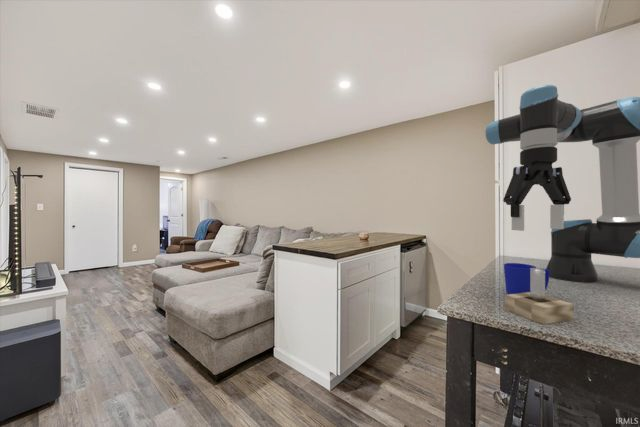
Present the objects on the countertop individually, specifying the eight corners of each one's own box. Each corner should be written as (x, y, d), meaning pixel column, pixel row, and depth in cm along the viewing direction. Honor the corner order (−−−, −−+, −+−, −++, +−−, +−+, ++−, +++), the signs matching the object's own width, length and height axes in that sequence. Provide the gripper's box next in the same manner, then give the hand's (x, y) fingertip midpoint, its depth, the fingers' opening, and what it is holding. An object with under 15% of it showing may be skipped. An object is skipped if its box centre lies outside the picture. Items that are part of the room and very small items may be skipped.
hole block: (532, 305, 75) (532, 291, 75) (573, 319, 66) (573, 303, 66) (504, 309, 73) (504, 294, 73) (543, 324, 63) (543, 307, 63)
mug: (557, 303, 77) (557, 269, 77) (511, 300, 80) (511, 268, 79) (540, 294, 85) (540, 263, 85) (498, 292, 88) (499, 262, 88)
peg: (535, 311, 71) (536, 267, 71) (547, 315, 68) (548, 270, 68) (527, 312, 70) (527, 268, 70) (539, 317, 68) (539, 270, 67)
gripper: (557, 153, 75) (556, 227, 76) (487, 149, 69) (487, 229, 70) (589, 147, 68) (589, 229, 69) (514, 142, 62) (514, 232, 62)
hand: (537, 229), depth 69 cm, fingers open, 13 cm apart
